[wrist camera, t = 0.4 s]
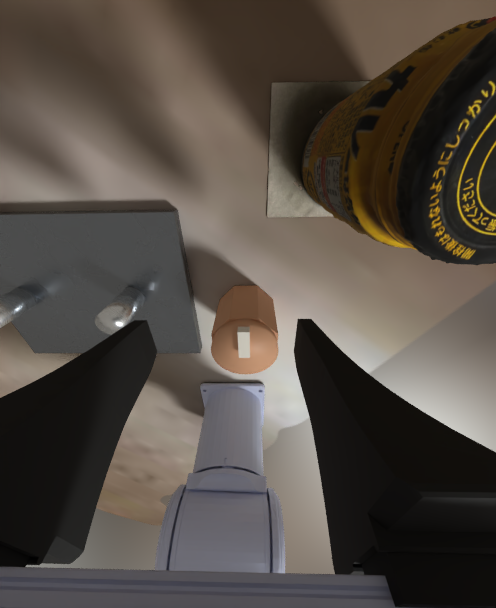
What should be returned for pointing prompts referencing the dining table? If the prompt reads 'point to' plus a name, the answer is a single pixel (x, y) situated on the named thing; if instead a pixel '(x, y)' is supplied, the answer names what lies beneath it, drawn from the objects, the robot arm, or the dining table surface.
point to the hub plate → (96, 278)
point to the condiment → (397, 149)
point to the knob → (245, 331)
